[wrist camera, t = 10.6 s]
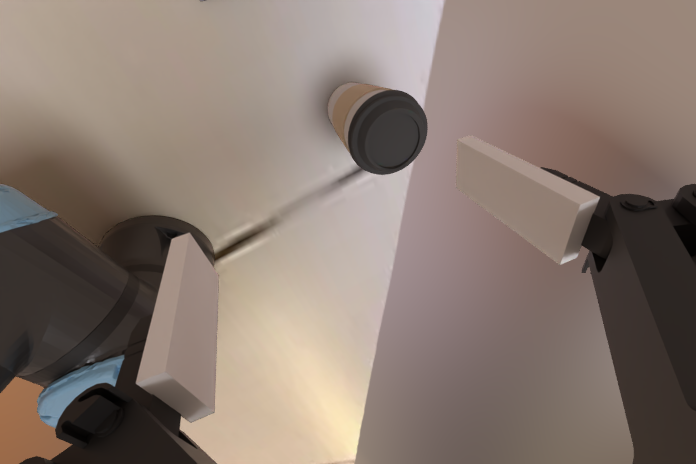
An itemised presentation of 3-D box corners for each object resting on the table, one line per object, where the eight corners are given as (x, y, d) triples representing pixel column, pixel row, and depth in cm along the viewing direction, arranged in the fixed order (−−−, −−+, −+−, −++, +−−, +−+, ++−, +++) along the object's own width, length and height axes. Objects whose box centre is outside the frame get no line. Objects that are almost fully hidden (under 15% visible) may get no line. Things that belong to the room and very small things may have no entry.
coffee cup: (316, 76, 39) (354, 100, 27) (381, 69, 41) (441, 89, 29) (323, 144, 44) (356, 189, 33) (380, 135, 46) (430, 174, 35)
